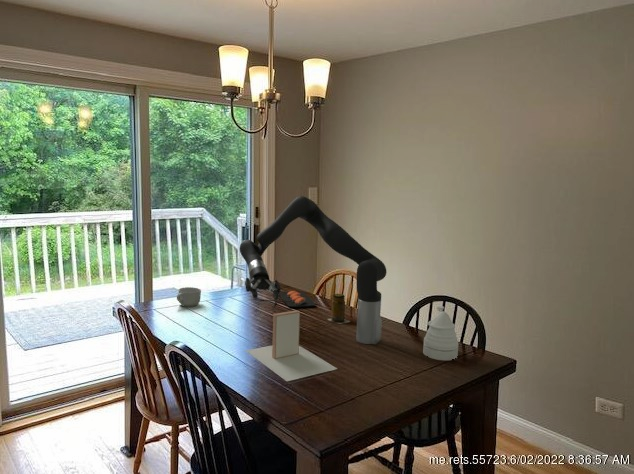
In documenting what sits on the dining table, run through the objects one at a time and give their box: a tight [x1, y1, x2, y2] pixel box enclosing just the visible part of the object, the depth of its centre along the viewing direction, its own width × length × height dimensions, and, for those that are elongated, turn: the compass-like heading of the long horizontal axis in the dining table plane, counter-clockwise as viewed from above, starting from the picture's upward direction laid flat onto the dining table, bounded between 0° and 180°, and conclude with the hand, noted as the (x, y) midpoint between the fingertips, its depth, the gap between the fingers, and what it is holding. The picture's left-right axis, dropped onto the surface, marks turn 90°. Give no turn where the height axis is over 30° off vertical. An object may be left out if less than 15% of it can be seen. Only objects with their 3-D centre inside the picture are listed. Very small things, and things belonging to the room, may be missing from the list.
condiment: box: [327, 293, 352, 325], centre depth 218 cm, size 7×8×12 cm
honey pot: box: [422, 305, 460, 361], centre depth 182 cm, size 13×13×18 cm
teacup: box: [176, 286, 202, 308], centre depth 234 cm, size 14×11×8 cm
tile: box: [271, 310, 301, 359], centre depth 172 cm, size 2×10×16 cm, turn 124°
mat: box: [245, 344, 338, 385], centre depth 170 cm, size 30×20×1 cm, turn 34°
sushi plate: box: [252, 290, 317, 310], centre depth 248 cm, size 29×30×4 cm
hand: (266, 297), depth 192 cm, fingers open, 8 cm apart
